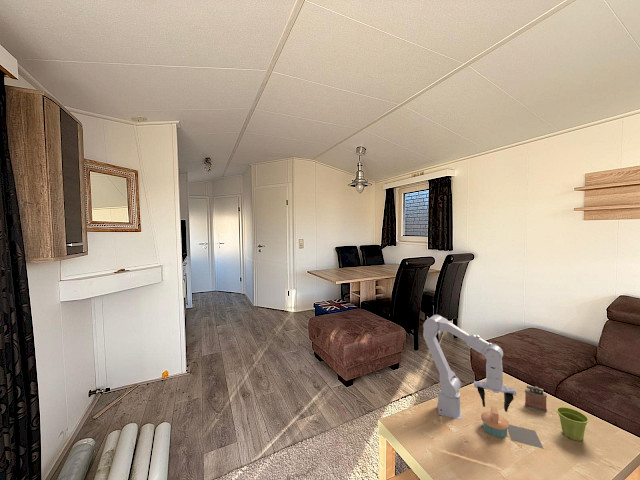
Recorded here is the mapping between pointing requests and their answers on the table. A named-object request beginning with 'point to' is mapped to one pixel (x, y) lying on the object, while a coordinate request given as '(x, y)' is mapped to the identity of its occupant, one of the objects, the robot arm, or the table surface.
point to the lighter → (535, 398)
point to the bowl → (495, 431)
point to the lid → (494, 419)
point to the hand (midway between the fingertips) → (494, 407)
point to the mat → (524, 436)
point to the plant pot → (572, 423)
